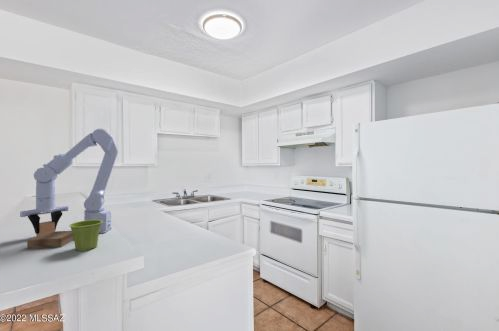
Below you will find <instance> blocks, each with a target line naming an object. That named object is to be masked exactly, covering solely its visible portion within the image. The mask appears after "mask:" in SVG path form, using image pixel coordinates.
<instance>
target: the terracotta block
mask: <svg viewBox="0 0 499 331" xmlns="http://www.w3.org/2000/svg"><path fill="white" fill-rule="evenodd" d="M55 231H56V230H55V222H52V220H49V221H43V222H39V234H36V233H35V237H36V236H38V235H40V234H43V233H45V232H55Z"/></svg>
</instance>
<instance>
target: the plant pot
mask: <svg viewBox="0 0 499 331" xmlns="http://www.w3.org/2000/svg"><path fill="white" fill-rule="evenodd" d="M101 223H102V221H101V220H87V221H84V220H82V221H77V222H76V221H75V222H71V223H69V227H70V231H72V232H73V237H74V240H73V241H74V242H73V243H74V248H75V251H80V252H84V251H89V250H92V249H95V248H97V247H98V242H99V234H100V233H99V229H100V227H101Z"/></svg>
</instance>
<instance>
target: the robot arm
mask: <svg viewBox="0 0 499 331" xmlns="http://www.w3.org/2000/svg"><path fill="white" fill-rule="evenodd" d="M95 146H96V147H97V146H100V148H101V149H102V151H103V152H104V155H103V158H102V161H101V163H100V167H99V169H98V171H97V176H96V178H95V180H94V184H93V186H92V190H91V191H90V194H89V196H88V197H87V198H86V199H85V200H84V202H83V207H84V211H83V214H84V220H83V221H87V220H101V221H102V223H101V227H100V229H99V234H103V233H104V234H105V233H107V232H108V231H110V230H111V229H112V212H111V210H109V209H107V210H105V207H104V206H103V205H104V204H105V197H104V196H105V193H106V189H107V187H108V186H107V185H108V182H109V179H110V177H111V174H112V172H113V168H114V165H115V162H116V160H117V157H118V153H119V150H118V147H117V144H116V142H115V140H114V137H113V136H112V135H111V133H109V131H108V130H106V129H104V128H97V129H95V130H93V132H91V133H89V134H87V135H86V136H85V137H84V138H82V139H81V140H79V141H78V143H76V144H75V145H74V146H72V148H70V149H69V150H68V151H67V152H65V153H59V154H58V155H57V154H55V155H53V158H52V160H50V161H49V162H47V163H45V164H43V165H42V167H39V168H36V170H35V171H34V173H33V179H35V184H36V185H35V186H36V187H35V208H34V209H29V210H22V211H20V212H19V217H20V218H26V217H27V218H28V220H29V221H30V222H31V224H32V227H33V229H34V233H35V235H36V234H39V223H41V222H40V220H41V217H40V215H47V214H50V221H52V222H55V231H56V229H57V226H58V223H59V220H60V219H61V218H62V216H63V212H68V211H69V206H68V205H65V206H64V205H63V206H56V198H55V197H56V185H55V181H56V179H57V177H58V175H61V173H63V172H64V171H65V170H67V169H68V168H69V167H71V165H72V164H73V159H75V158H76V157H78V156H79V155H80V154H81V153H83V152H84V151H86V150H87V149H88V148H90V147H95Z"/></svg>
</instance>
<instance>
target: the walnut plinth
mask: <svg viewBox="0 0 499 331" xmlns="http://www.w3.org/2000/svg"><path fill="white" fill-rule="evenodd" d="M72 241H74V237H73V232H72V230H60V231H58V230H57V231H56V230H55V232H45V233H43V234H40V235H38V236H36V235H35V236H34V237H31V238H30V239H27V244H26V246H27V248H26V249H27V250H31V249H47V248H62V247H63V246H65V245H67V244H68V243H71V242H72Z"/></svg>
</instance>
